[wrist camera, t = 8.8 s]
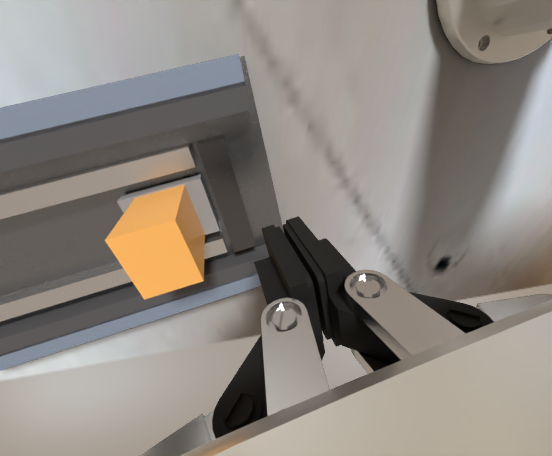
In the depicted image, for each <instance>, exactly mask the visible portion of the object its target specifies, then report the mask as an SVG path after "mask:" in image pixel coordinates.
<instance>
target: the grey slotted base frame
mask: <svg viewBox="0 0 552 456" xmlns="http://www.w3.org/2000/svg"><path fill="white" fill-rule="evenodd" d="M239 58H240V62H241V67H242V71H243V75H244V80H245V84H246V88H247V93H248V97H249V101H250V106H251V110H249V111H245V112H241V113H237V114H233V115H229V116H225V117H221V118H217V119H213V120H209V121H205V122H201V123H197V124H193V125H189V126H185V127H181V128H177V129H173V130H169V131H165V132H161V133H157V134H153V135H149V136H145V137H141V138H137V139H133V140H129V141H125V142H121V143H117V144H113V145H109V146H105V147H101V148H97V149H93V150H89V151H85V152H81V153H77V154H73V155H69V156H65V157H61V158H57V159H53V160H49V161H45V162H41V163H37V164H33V165H29V166H25V167H21V168H17V169H13V170H9V171H5V172H1V173H0V326H1V325H4V324H8V323H11V322H14V321H17V320H21V319H24V318H27V317H30V316H34V315H37V314H40V313H43V312H47V311H50V310H53V309H56V308H60V307H63V306H66V305H70V304H73V303H76V302H79V301H83V300H86V299H89V298H92V297H96V296H99V295H102V294H105V293H109V292H112V291H115V290H118V289H122V288H125V287H128V286H131V285H134V283H133V282H132V280H131V279H130V277H129V276H128V274H127V273H126V271H125V270H124V268H123V267H122V265H121V264H120V262H119V261H118V259H117V258H116V256H115V255H114V253H113V252H112V250H111V249H110V247H109V246H108V244H107V243H106V241H105V239H106V238H107V237H108V235H109V234H110V232H111V231H112V230H113V228H114V227H115V225H116V224H117V222H118V221H119V220H120V218H121V217H122V215H123V214H124V213H123V211H122V210H121V208H120V206H119V204H118V203H117V200H118V199H119V198H120V197H121V196H122V195H125V194H129V193H132V192H136V191H140V190H143V189H147V188H151V187H154V186H158V185H162V184H166V183H169V182H173V181H177V180H180V179H184V178H188V177H191V176H195V175H199V174H201V176H202V179H203V181H204V184H205V187H206V189H207V192H208V195H209V198H210V200H211V203H212V206H213V208H214V211H215V214H216V216H217V219H218V222H219V226H220V231H217V232H214V233H211V234H207V235H205V254H204V263H206V262H209V261H213V260H216V259H219V258H222V257H226V256H229V255H232V254H235V253H239V252H242V251H245V250H248V249H252V248H255V247H258V246H261V245H265V240H264V236H263V233H262V228H264V227H267V226H270V225H273V224H274V226H275V227H278V226H280V228H281V229H282V231H283V227H282V223H281V218H280V214H279V209H278V205H277V200H276V196H275V191H274V187H273V182H272V178H271V173H270V169H269V164H268V160H267V155H266V151H265V146H264V142H263V137H262V133H261V128H260V124H259V119H258V115H257V111H256V106H255V102H254V97H253V93H252V88H251V84H250V79H249V75H248V70H247V66H246V61H245V57H244V56H242V57H239ZM283 233H284V231H283Z"/></svg>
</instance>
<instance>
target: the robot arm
mask: <svg viewBox="0 0 552 456" xmlns="http://www.w3.org/2000/svg"><path fill="white" fill-rule="evenodd" d="M436 2H437V9H438V15H439V18H440V21H441V24H442V27H443V30H444V33H445V35H446V37H447V38H448V40H449V42H450V43H451V45H452V47H453V48H454V49H455V50H456V51H458V52H459V53H460V54H461V55H462V56H463V57H465V58H467V59H469V60H471V61H473V62H476V63H483V64H492V63H504V62H508V61H512V60H516V59H519V58H521V57H523V56H525V55H527V54H530V53H532V52H534V51H535V50H536V49H538V48H539V47H541V46H542V45H543V44H545V43H546V42H548V41H549V40H550V39H551V38H552V0H436ZM283 230H284V233H283V231H282V229H281V228H280V226H278V227H275V226H274V224H273V225H270V226H267V227H264V228H262V233H263V236H264V240H265V244H266V247H267V251H268V255H269V257H268V258H265V259H262V260H259V261H256V262H254V264H255V267H256V270H257V273H258V276H259V279H260V283H261V286H262V289H263V292H264V295H265V298H266V301H267V304H268V306H267V307H266V308H265V309H264V311H263V313H262V315H261V331H262V334H261V336H260V338H259V339H258V341H257V342H256V344H255V345H254V347H253V348H252V350H251V351H250V353H249V354H248V356H247V358H246V359H245V361H244V362H243V364H242V365H241V367H240V368H239V370H238V371H237V373H236V375H235V376H234V378H233V379H232V381H231V382H230V384H229V385H228V387H227V388H226V390H225V392H224V393H223V395H222V397H221V398H220V399H219V401H218V403H217V405H216V407H215V409H214V411H212V412H211V413H209V414H208V415H206V416H205V417H204V415H203V414H201V415H200V416H198V417H197V418H195V419H194V420H192V421H191V422H189V423H188V424H186V425H185V426H183V427H182V428H180V429H179V430H177V431H176V432H174V433H173V434H171V435H170V436H168V437H167V438H165V439H164V440H162V441H161V442H159V443H158V444H156V445H155V446H153V447H152V448H150V449H149V450H147V451H146V452H145V453H143V454H142V455H140V456H552V295H550V294H537V295H531V296H524V297H518V298H511V299H504V300H498V301H491V302H485V303H478V304H477V307H476V308H475V307H473V306H471V305H467V304H464V303H460V302H455V301H450V300H445V299H440V298H435V297H430V296H425V295H421V294H416V293H411V292H408V291H406V290H405V289H404V288H402V287H401V286H399V285H398V284H397V283H395V282H394V281H392V280H391V279H390V278H388V277H387V276H386V275H384V274H382V273H380V272H377V271H373V270H361V271H357V272H356V271H355V270H354V269H353V267H352V266H351V265H350V264H349V263H348V262H347V261H346V260H345V259H344V257H343V256H342V255H341V254H340V253H339V252H338V251H337V250H336V249H335V247H334V246H333V245H332V244H331V243H330V242H329V241H328V240H327V239H322V240H318V239H317V238H316V237H315V236H314V234H313V233H312V232H311V231H310V230H309V228H308V227H307V226H306V225H305V224H304V222H303V221H302V220H301V219H300V218H299V217H295V218H292V219H289V220H286V224H284V225H283ZM322 331H323V333H324V335H325V337H326V339H327V340H328V339H331V338H332V340H333V342H334V344H335V345H336V346H339V345H342V346H345V347H347V348H350V349H351V351H352V353H353V355H354V357H355V358H356V359H357V360H358V362H359V363H360V364H361V365H362V367H363V368H364V369H365V370H366V372H367V373H368V374H367V375H365V376H362V377H360V378H358V379H355V380H353V381H350V382H348V383H346V384H343V385H341V386H339V387H336V388H334V389H331V390H329V386H328V383H327V379H326V375H325V372H324V368H323V365H322V358H323V356H324V354H325V350H324V344H323V335H322Z"/></svg>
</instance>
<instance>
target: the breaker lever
mask: <svg viewBox="0 0 552 456" xmlns="http://www.w3.org/2000/svg"><path fill="white" fill-rule="evenodd" d="M117 203H118V204H119V206H120V208H121V210H122V211H123V213H124V214H123V215H122V217H121V218H120V220H119V221H118V222H117V224H116V225H115V227H114V228H113V230H112V231H111V232H110V234H109V235H108V237H107V238H106V239H105V241H106V243H107V244H108V246H109V247H110V249H111V250H112V252H113V253H114V255H115V256H116V258H117V259H118V261H119V262H120V264H121V265H122V267H123V268H124V270H125V271H126V273H127V274H128V276H129V277H130V279H131V280H132V282H133V283H134V285H135V286H136V288H137V289H138V291H139V292H140V294H141V295H142V297H143V298H144V300H145V299H148V298H151V297H154V296H158V295H161V294H164V293H167V292H170V291H174V290H177V289H180V288H183V287H186V286H189V285H193V284H196V283H199V282H202V281H204V254H205V235H207V234H211V233H214V232H217V231H220V226H219V222H218V219H217V216H216V214H215V211H214V208H213V206H212V203H211V200H210V198H209V195H208V192H207V189H206V187H205V184H204V181H203V179H202V176H201V174H199V175H195V176H191V177H188V178H184V179H180V180H177V181H173V182H169V183H166V184H162V185H158V186H154V187H151V188H147V189H143V190H140V191H136V192H132V193H129V194H125V195H122V196H121V197H120V198H119V199H118V200H117Z"/></svg>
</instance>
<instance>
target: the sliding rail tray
mask: <svg viewBox="0 0 552 456" xmlns="http://www.w3.org/2000/svg"><path fill="white" fill-rule="evenodd" d="M249 110H251V106H250V101H249V97H248V93H247V88H246V84H245V80H244V75H243V71H242V67H241V62H240V58H239V54H236V55H232V56H228V57H223V58H219V59H214V60H210V61H205V62H201V63H197V64H192V65H188V66H183V67H179V68H174V69H170V70H166V71H161V72H157V73H152V74H148V75H143V76H139V77H135V78H130V79H126V80H121V81H117V82H113V83H108V84H104V85H99V86H95V87H90V88H86V89H82V90H77V91H73V92H68V93H64V94H59V95H55V96H51V97H46V98H42V99H37V100H33V101H28V102H24V103H20V104H15V105H11V106H6V107H2V108H0V173H1V172H5V171H9V170H13V169H17V168H21V167H25V166H29V165H33V164H37V163H41V162H45V161H49V160H53V159H57V158H61V157H65V156H69V155H73V154H77V153H81V152H85V151H89V150H93V149H97V148H101V147H105V146H109V145H113V144H117V143H121V142H125V141H129V140H133V139H137V138H141V137H145V136H149V135H153V134H157V133H161V132H165V131H169V130H173V129H177V128H181V127H185V126H189V125H193V124H197V123H201V122H205V121H209V120H213V119H217V118H221V117H225V116H229V115H233V114H237V113H241V112H245V111H249ZM268 257H269V255H268V251H267V247H266V244H265V245H261V246H258V247H255V248H252V249H248V250H245V251H242V252H239V253H235V254H232V255H229V256H226V257H222V258H219V259H216V260H213V261H209V262H206V263H204V281H202V282H199V283H196V284H193V285H189V286H186V287H183V288H180V289H177V290H174V291H170V292H167V293H164V294H161V295H158V296H154V297H151V298H148V299H145V300H144V298H143V297H142V295H141V294H140V292H139V291H138V289H137V288H136V286H135V285H131V286H128V287H125V288H122V289H118V290H115V291H112V292H109V293H105V294H102V295H99V296H96V297H92V298H89V299H86V300H83V301H79V302H76V303H73V304H70V305H66V306H63V307H60V308H56V309H53V310H50V311H47V312H43V313H40V314H37V315H34V316H30V317H27V318H24V319H21V320H17V321H14V322H11V323H8V324H4V325H1V326H0V370H4V369H7V368H10V367H13V366H16V365H19V364H22V363H25V362H28V361H31V360H34V359H37V358H41V357H44V356H47V355H50V354H53V353H56V352H59V351H62V350H65V349H68V348H71V347H74V346H78V345H81V344H84V343H87V342H90V341H93V340H96V339H99V338H102V337H105V336H108V335H111V334H115V333H118V332H121V331H124V330H127V329H130V328H133V327H136V326H139V325H142V324H145V323H149V322H152V321H155V320H158V319H161V318H164V317H167V316H170V315H173V314H176V313H179V312H182V311H186V310H189V309H192V308H195V307H198V306H201V305H204V304H207V303H210V302H213V301H216V300H219V299H223V298H226V297H229V296H232V295H235V294H238V293H241V292H244V291H247V290H250V289H253V288H256V287H260V286H261V283H260V279H259V276H258V273H257V270H256V267H255V264H254V262H256V261H259V260H262V259H265V258H268Z"/></svg>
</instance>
